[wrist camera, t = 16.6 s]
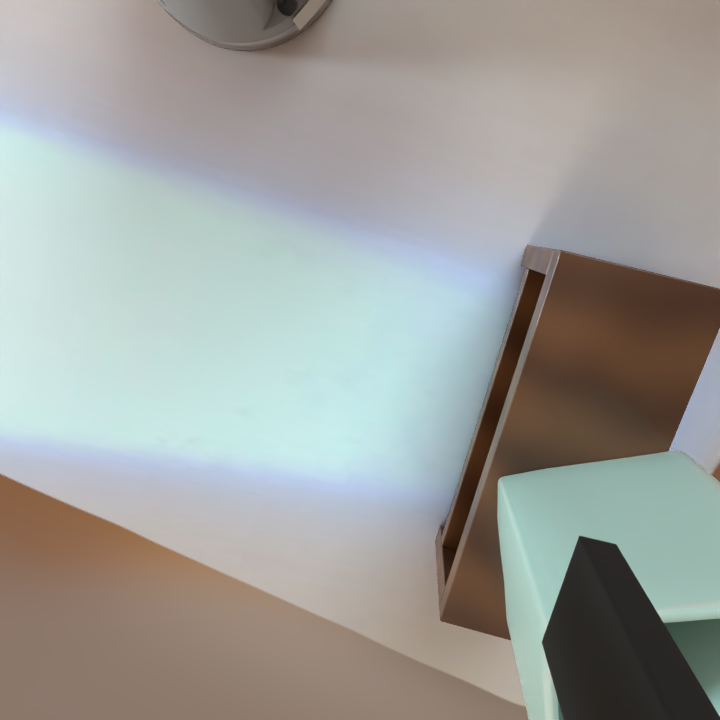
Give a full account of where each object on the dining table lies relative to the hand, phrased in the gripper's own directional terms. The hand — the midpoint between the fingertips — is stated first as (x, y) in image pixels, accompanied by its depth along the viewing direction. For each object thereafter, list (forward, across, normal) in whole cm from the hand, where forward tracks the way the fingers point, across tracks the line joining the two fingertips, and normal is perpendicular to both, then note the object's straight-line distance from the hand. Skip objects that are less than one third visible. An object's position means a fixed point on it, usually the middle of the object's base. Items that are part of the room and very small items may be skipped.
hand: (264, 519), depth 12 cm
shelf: (+32, +15, -7) cm, 36 cm away
